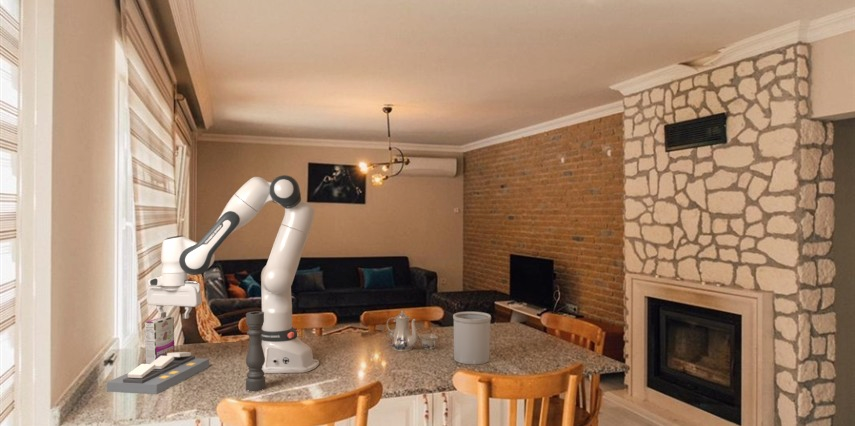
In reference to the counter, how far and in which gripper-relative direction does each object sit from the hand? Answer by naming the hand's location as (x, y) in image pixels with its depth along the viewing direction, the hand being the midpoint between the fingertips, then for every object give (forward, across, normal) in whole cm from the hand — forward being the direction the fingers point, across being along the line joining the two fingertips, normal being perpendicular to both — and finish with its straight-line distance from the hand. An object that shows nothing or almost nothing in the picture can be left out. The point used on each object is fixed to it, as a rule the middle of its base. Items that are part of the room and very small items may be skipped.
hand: (174, 317), depth 198 cm
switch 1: (+14, 0, +18) cm, 23 cm away
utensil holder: (+19, -106, -32) cm, 112 cm away
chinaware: (+19, -77, -47) cm, 92 cm away
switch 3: (+14, 0, -2) cm, 15 cm away
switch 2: (+14, 0, +8) cm, 16 cm away
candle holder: (+20, -38, +12) cm, 45 cm away
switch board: (+20, 0, +8) cm, 21 cm away
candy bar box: (+20, +15, -12) cm, 28 cm away
